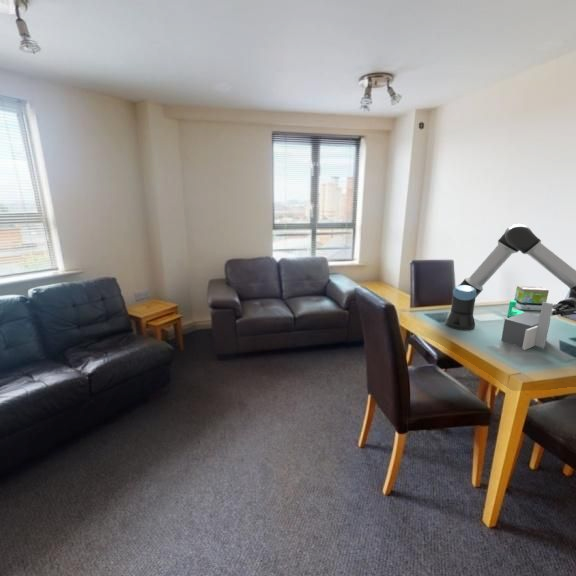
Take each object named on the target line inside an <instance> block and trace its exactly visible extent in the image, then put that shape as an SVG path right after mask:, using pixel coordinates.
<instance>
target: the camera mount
mask: <svg viewBox="0 0 576 576" xmlns="http://www.w3.org/2000/svg"><path fill="white" fill-rule="evenodd" d="M516 302H517V301H514V299H513V300H512V299H510V301H509V305H508V311H507V317H508V318H509V317H512V316H515V315H518V314H521V313H524V311H523V310H519V309H517V310H516V309H513V308H517V307H516Z"/></svg>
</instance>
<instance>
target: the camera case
mask: <svg viewBox="0 0 576 576" xmlns="http://www.w3.org/2000/svg"><path fill="white" fill-rule="evenodd" d="M539 318H540V315H537V314H532V313H528V312H524V311H523V313H521V314H518V315H515V316H512V317H509V316H508V317H506V318H504V322H503V327H502V334H501V340H500V341H503V342H505V343H509V344H512V345H513V346H517V347H520V348H522V347H523V342H524V336H525V331H526V329H529V328H531V327H534V326H538V323H539ZM550 324H551V320H550V321H549V326H548V331H547V334H549V333H548V332H549V327H550ZM547 338H548V335H547V336H546V339H547Z"/></svg>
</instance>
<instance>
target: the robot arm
mask: <svg viewBox="0 0 576 576" xmlns="http://www.w3.org/2000/svg"><path fill="white" fill-rule="evenodd" d="M519 251H520V253H521V254H523V255H528V256H529V257H530V258H531V259H533V260H534V261H535V262H536V263H537V264H539V265H540V266H542V267H543V269H546V270H547V271H548V272H549V273H551V274H552V275H553V276H554V277H555V278H557V279H558V280H559V281H560V282H561V283H563V284H564V285H565V286H566V287H568V288H569V289H570V290H569V294H568V297H567V298H565V299H563V300H562V299H561V300H560V301H558V302H557V303H555V304H554V303H553V307H552V312H551V317H552V316H560V317H561V316H562V317H564V316H570V315H576V269H574V267H572V266H571V265H569V264H568V263H567V262H566V261H565V260H563V259H562V258H560V257H559V256H558V255H556V254H555V252H553V251H552V250H550V249H549V248H548V247H546V246H545V245H544V244H543V243H542V240H541V239H540V238H539V237H538V236H536V234H535V233H534V232H533V231H532V230H531V229H530V227H529V226H527V225H525V224H523V223H516V224H512V225H510V226H508V227H507V228H506V230H505V231H504V233H503V234H502V236H501V237H500V238H499V239H497V246H496V247H495V248H494V249H493V250H492V251H491V252H490V254H489V255H488V256H487V257H486V258H485V259H484V260H483V262H482V263H481V264H480V265H479V266H478V267H477V268H476V270H475V271H474V272H473V273H472V274H471V275H470V276H469V277H465V278H464V279H463V281H462V282H460V284H458V285H456V286H455V287H454V288H453V290H452V299H451V307H450V308H451V309H450V312H449V314H448V315H447V316H448V317H447V318H446V321H445V324H446V326H448V327H450V328H452V329H456V330H462V331H471V330H474V329H475V328H476V322H475V318H474V317H475V316H474V311H475V305H476V304H475V302H476V298H477V297H478V296H479V295H480V294H481V293H482V291H484V289H483V286H484V285H485V284H486V283H487V282H488V281H489V280H490V279H491V277H493V276H494V274H496V272H497V271H498V270H499V269H500V268H501V266H502V265H504V264H505V262H506V261H507V260H508V259H509V258H510V257H511V256H512V255H513V254H516V253H519Z"/></svg>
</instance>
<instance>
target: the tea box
mask: <svg viewBox="0 0 576 576" xmlns="http://www.w3.org/2000/svg"><path fill="white" fill-rule="evenodd" d="M549 291H550V290H548V289H547V288H545V287H542V286H526V285H525V286H524V285H517V286H516V290H515V294H514V299H513V300H514V301H517V302H516V307H515V308H517V310H519V311H523V310H527V311H540V310H541V308H542V303H543V302H547V300H548V296H549Z"/></svg>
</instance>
